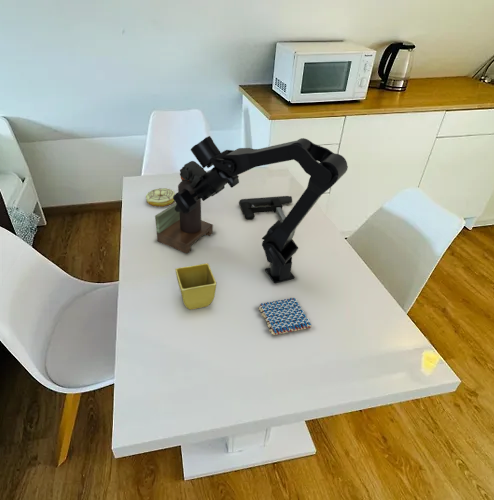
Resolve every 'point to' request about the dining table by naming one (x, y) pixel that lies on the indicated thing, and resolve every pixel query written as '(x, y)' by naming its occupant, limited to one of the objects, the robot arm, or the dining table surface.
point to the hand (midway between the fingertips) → (185, 204)
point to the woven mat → (284, 316)
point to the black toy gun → (275, 203)
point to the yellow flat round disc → (160, 197)
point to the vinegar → (193, 218)
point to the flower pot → (196, 285)
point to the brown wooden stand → (177, 230)
